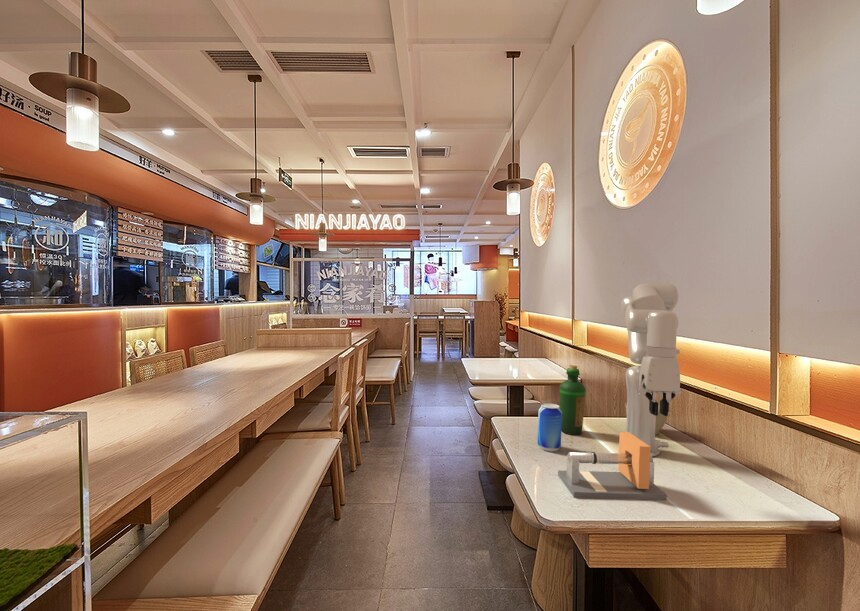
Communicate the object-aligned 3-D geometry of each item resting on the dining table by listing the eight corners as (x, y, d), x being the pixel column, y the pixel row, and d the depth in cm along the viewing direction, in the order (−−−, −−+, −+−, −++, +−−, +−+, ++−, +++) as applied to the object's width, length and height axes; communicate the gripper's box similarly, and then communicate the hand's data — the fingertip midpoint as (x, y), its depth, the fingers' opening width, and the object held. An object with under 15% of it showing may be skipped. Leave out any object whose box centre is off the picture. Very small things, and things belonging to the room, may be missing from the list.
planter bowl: (627, 423, 181) (628, 399, 181) (668, 430, 172) (669, 405, 172) (621, 432, 168) (622, 407, 168) (665, 441, 159) (666, 414, 159)
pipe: (645, 479, 120) (646, 451, 120) (653, 486, 116) (654, 456, 116) (566, 477, 121) (567, 449, 120) (571, 484, 116) (572, 454, 116)
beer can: (557, 444, 152) (559, 403, 152) (563, 453, 144) (564, 409, 143) (535, 443, 153) (536, 402, 153) (539, 451, 145) (540, 407, 144)
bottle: (588, 436, 162) (590, 368, 161) (562, 435, 162) (564, 367, 162) (579, 428, 173) (581, 364, 172) (554, 427, 173) (556, 363, 172)
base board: (640, 477, 125) (640, 472, 125) (666, 499, 111) (666, 493, 111) (557, 475, 125) (558, 469, 125) (573, 497, 111) (574, 491, 111)
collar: (627, 470, 124) (629, 432, 124) (648, 488, 112) (650, 446, 112) (618, 470, 124) (619, 432, 124) (638, 488, 112) (639, 446, 112)
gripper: (679, 351, 121) (677, 411, 122) (627, 350, 121) (625, 410, 122) (696, 355, 114) (693, 419, 114) (640, 353, 114) (638, 417, 114)
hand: (658, 414), depth 118 cm, fingers closed
